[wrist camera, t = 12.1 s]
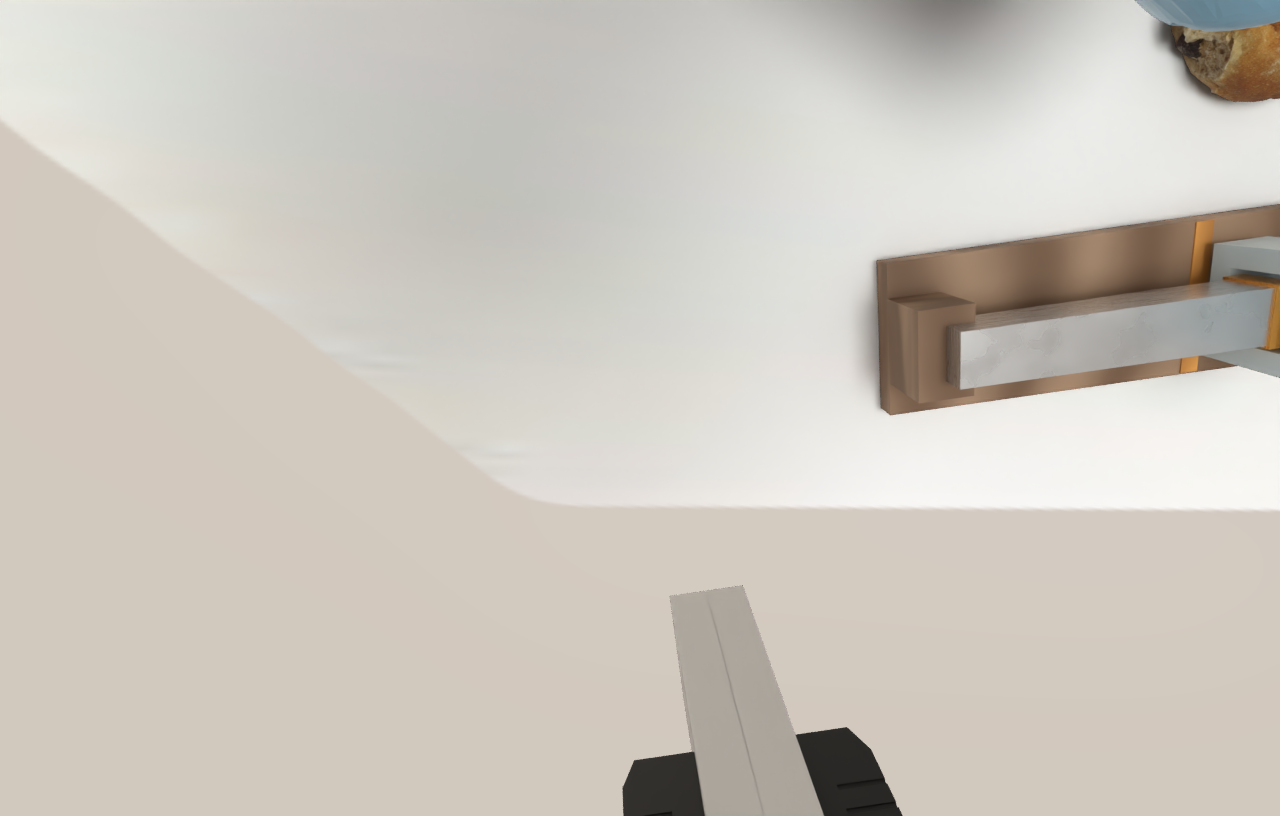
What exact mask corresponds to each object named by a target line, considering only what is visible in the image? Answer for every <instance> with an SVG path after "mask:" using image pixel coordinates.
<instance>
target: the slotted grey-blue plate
mask: <svg viewBox="0 0 1280 816" xmlns="http://www.w3.org/2000/svg"><path fill="white" fill-rule="evenodd" d="M1270 273H1272V274H1279V275H1280V237H1272V236H1265V237H1258V238H1250V239H1243V240H1236V241H1229V242H1222V243H1215V244H1214V250H1213V258H1212V266H1211V275H1210V282H1213V281H1220V280H1223V277H1224V276H1231V275H1239V274H1251V275H1263V274H1270ZM1202 356H1206V357H1209V358H1213V359H1216V360H1220V361H1223V362H1227V363H1230V364H1234V365H1237V366H1241V367H1244V368H1248V369H1251V370H1254V371H1258V372H1261V373H1265V374H1268V375H1272V376H1275V377H1279V378H1280V348H1277V349H1270V350H1269V349H1265V348H1261V347H1257V348H1250V349H1243V350H1236V351H1229V352H1222V353H1215V354H1208V355H1202Z"/></svg>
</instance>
